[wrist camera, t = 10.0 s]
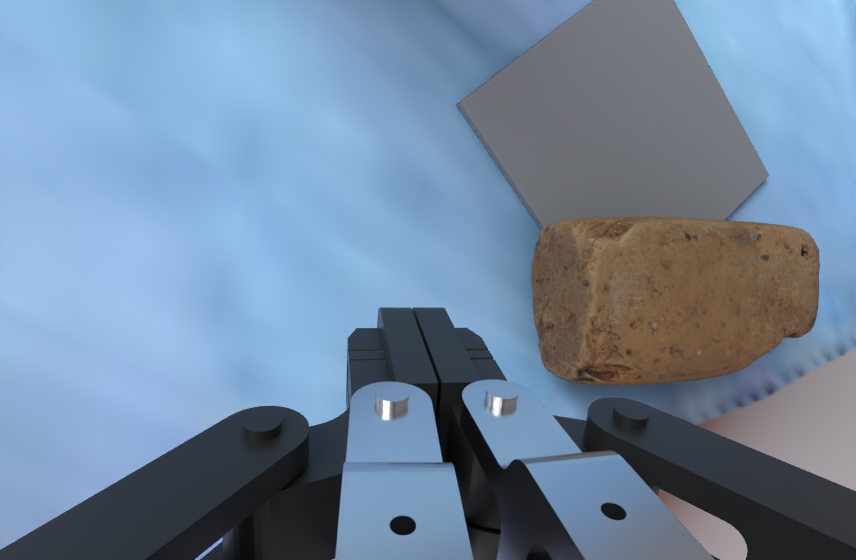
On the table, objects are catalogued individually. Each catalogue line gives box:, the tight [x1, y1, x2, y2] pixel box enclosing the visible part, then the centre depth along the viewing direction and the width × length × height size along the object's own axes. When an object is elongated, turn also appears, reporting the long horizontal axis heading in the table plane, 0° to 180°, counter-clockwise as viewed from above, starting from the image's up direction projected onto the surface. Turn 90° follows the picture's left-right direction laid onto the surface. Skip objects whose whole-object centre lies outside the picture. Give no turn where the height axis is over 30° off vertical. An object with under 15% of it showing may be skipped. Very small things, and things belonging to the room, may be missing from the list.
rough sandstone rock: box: [532, 216, 820, 385], centre depth 38 cm, size 11×8×20 cm
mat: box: [457, 0, 769, 231], centre depth 41 cm, size 20×20×1 cm
